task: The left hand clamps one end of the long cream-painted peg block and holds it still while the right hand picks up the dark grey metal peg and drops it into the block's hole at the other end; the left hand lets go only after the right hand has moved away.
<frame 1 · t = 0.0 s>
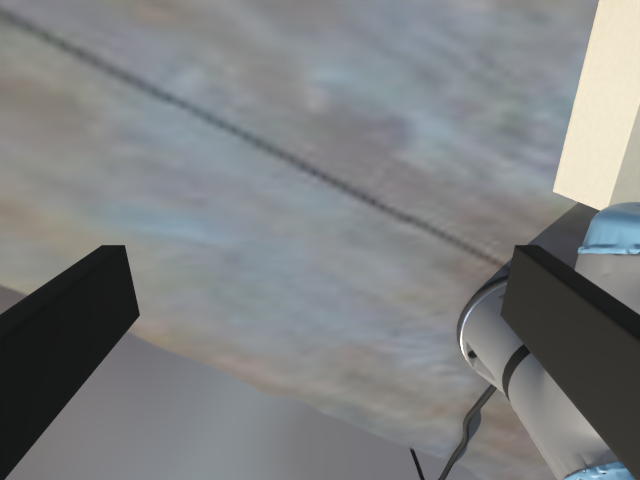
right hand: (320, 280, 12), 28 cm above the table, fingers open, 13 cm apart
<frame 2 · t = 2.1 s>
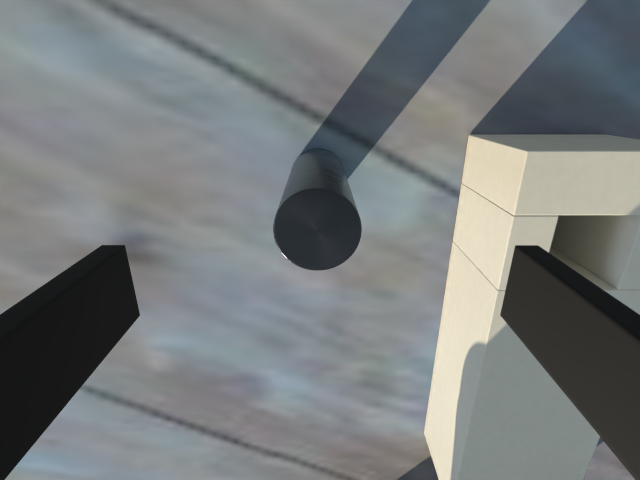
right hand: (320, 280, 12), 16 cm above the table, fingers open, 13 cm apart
peg: (317, 175, 27), on the table
peg block: (498, 309, 32), on the table
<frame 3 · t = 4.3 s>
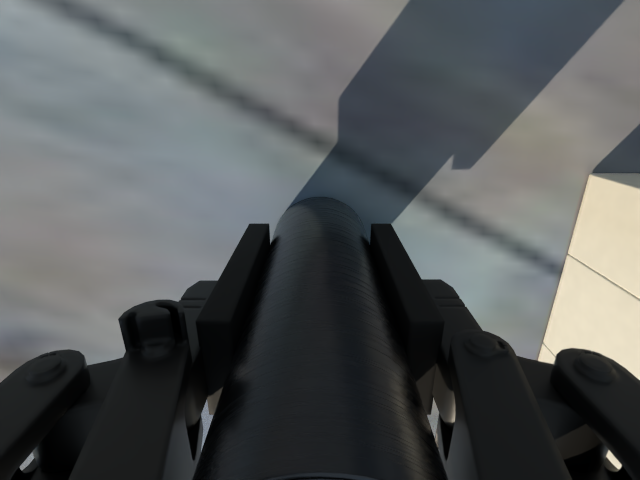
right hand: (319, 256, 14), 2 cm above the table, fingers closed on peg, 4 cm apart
peg: (320, 240, 16), on the table, touching right hand
peg block: (604, 439, 20), on the table
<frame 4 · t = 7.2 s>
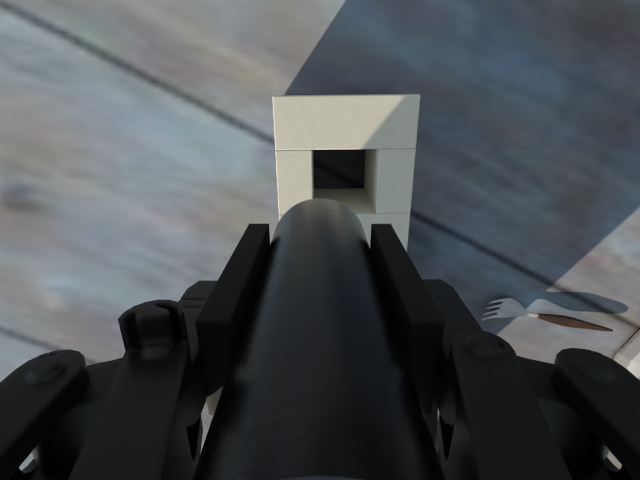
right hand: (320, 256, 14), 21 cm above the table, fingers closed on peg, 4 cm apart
peg: (319, 242, 16), point 19 cm above the table, touching right hand
peg block: (338, 251, 37), on the table, touching left hand
fork: (543, 313, 40), on the table
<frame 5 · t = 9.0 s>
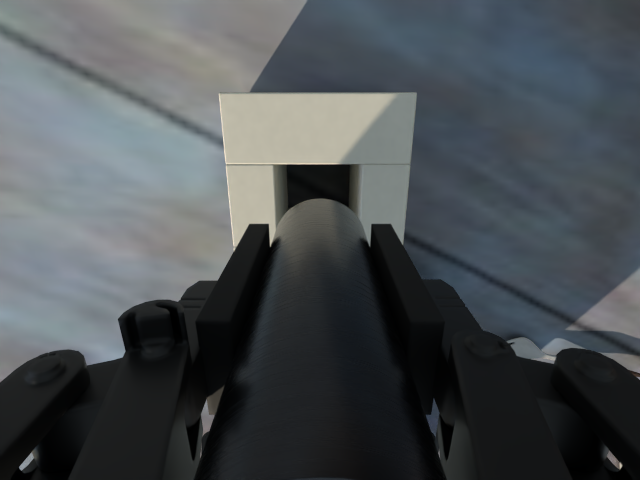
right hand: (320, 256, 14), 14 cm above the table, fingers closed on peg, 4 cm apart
peg: (320, 242, 16), point 13 cm above the table, touching right hand
peg block: (318, 281, 31), on the table, touching left hand
fork: (561, 355, 34), on the table
when the right hand's fingers open (10 cm above the table, at t = 10.2 s): peg drops 8 cm, resting in peg block.
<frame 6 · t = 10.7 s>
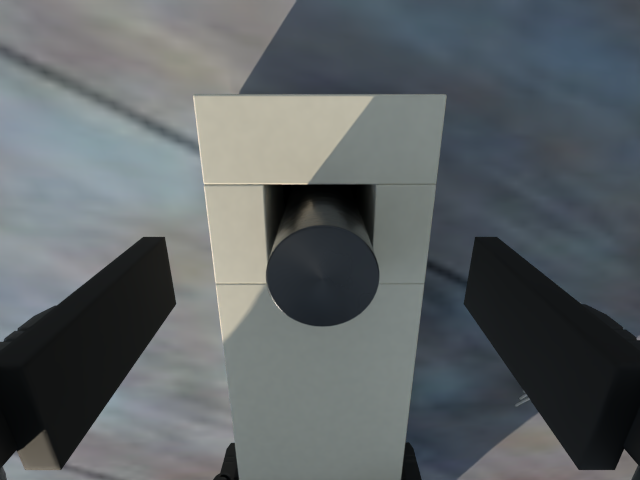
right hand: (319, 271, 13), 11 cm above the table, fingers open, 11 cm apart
peg: (321, 193, 24), resting in peg block
peg block: (319, 310, 27), on the table, touching left hand
when the left hand's fingers open (0 cm above the table, at t = 13.2 s): peg block stays where it is, on the table.
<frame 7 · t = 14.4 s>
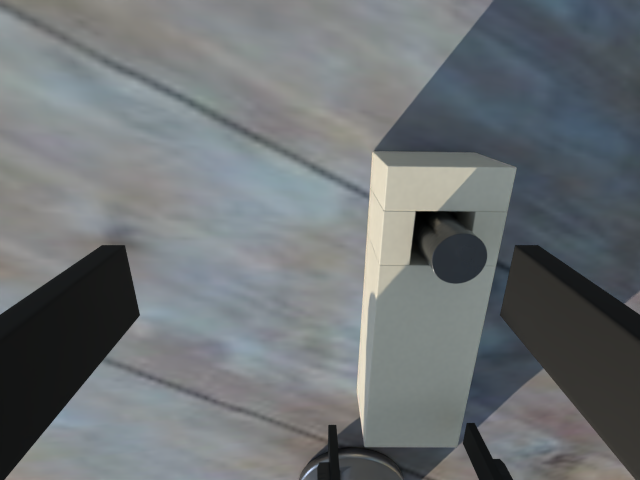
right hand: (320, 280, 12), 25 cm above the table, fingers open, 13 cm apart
peg: (417, 210, 37), resting in peg block
peg block: (408, 287, 41), on the table
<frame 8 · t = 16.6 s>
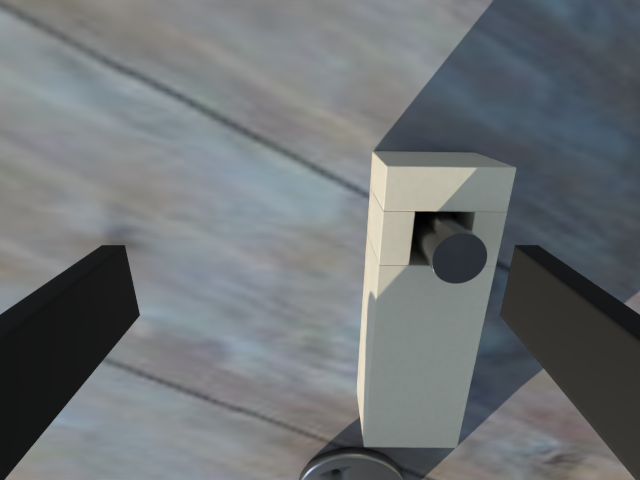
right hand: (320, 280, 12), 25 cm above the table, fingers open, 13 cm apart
peg: (417, 210, 37), resting in peg block
peg block: (408, 287, 41), on the table
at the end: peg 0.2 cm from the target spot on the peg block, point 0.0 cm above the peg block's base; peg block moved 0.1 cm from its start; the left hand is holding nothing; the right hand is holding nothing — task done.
